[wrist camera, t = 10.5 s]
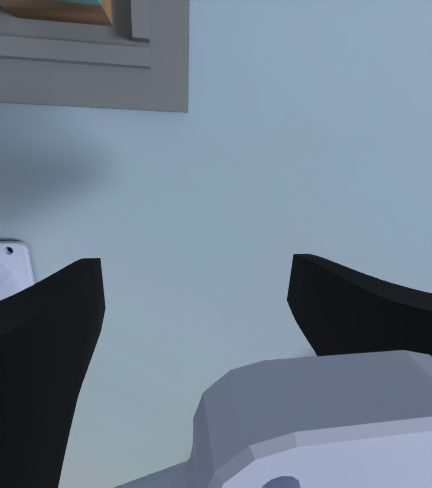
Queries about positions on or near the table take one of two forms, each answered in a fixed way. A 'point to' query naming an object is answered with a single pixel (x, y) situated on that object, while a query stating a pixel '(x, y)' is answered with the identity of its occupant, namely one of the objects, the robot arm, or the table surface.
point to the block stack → (62, 10)
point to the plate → (100, 59)
